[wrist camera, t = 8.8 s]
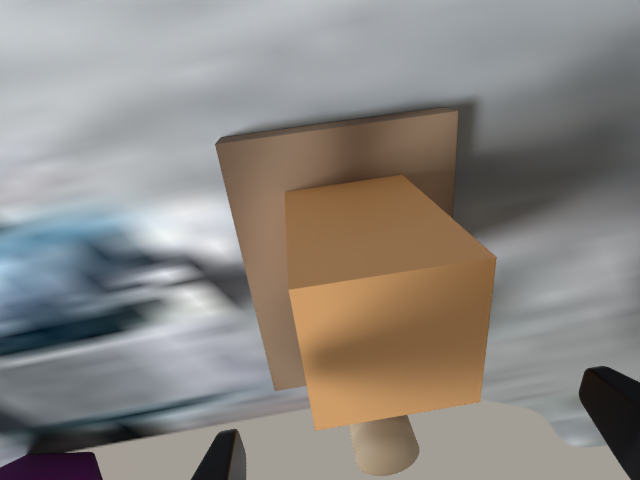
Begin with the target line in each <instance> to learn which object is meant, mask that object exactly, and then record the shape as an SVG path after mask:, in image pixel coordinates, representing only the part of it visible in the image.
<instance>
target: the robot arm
mask: <svg viewBox="0 0 640 480" xmlns="http://www.w3.org/2000/svg"><path fill="white" fill-rule="evenodd" d="M579 398H580V400H581V403H582V404H583V406H584V408H585V409H586V411H587V412H588V414H589V416H590V417H591V419H592V420H593V422H594V424H595V425H596V427H597V428H598V430H599V432H600V433H601V435H602V436H603V438H604V440H605V441H606V443H607V444H608V446H609V448H610V449H611V451H612V452H613V454H614V456H615V457H616V459H617V460H618V462H619V463H620V465H621V466H622V468H623V469H624V471H625V472H626V473H627V475H628V476H629V478H630V479H631V480H640V382H638V381H636V380H634V379H632V378H630V377H628V376H625V375H623V374H621V373H619V372H617V371H615V370H613V369H611V368H609V367H606V366H598V367H592V368H588V369H586V370H585V372H584V375H583V379H582V382H581V386H580V389H579ZM191 480H246V454H245V450H244V447H243V443H242V440H241V437H240V434H239V432H238V430H237V429H231V430H225V431H221V432H219V433H218V434H217V436H216V438H215V439H214V441H213V443H212V444H211V447H210V448H209V450H208V451H207V453H206V455H205V456H204V458H203V460H202V462H201V463H200V465H199V467H198V469H197V470H196V472H195V474H194V475H193V477H192V479H191Z"/></svg>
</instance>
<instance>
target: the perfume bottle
mask: <svg viewBox="0 0 640 480" xmlns="http://www.w3.org/2000/svg"><path fill="white" fill-rule="evenodd" d="M0 480H103V479H102V476H101V473H100V470H99V467H98V463H97V460H96V457H95V454H94V453H92V452H77V453H59V454H40V455H26V456H23V457H21V458H19V459H17V460H15V461H13V462H11V463H9V464H7V465H5V466H3V467H0Z"/></svg>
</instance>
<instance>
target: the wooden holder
mask: <svg viewBox="0 0 640 480" xmlns="http://www.w3.org/2000/svg"><path fill="white" fill-rule="evenodd" d="M457 128H458V111H456V110H452V109H448V108H444V107H442V108H435V109H427V110H420V111H413V112H405V113H398V114H391V115H383V116H376V117H369V118H361V119H354V120H347V121H339V122H332V123H325V124H317V125H310V126H303V127H295V128H288V129H281V130H273V131H266V132H259V133H251V134H244V135H237V136H229V137H222V138H220V139H219V140H218V141H217V143H216V144H215V146H216V150H217V154H218V158H219V163H220V167H221V171H222V175H223V179H224V183H225V187H226V191H227V196H228V200H229V204H230V208H231V212H232V216H233V220H234V225H235V229H236V233H237V237H238V241H239V245H240V249H241V253H242V258H243V262H244V266H245V270H246V274H247V278H248V282H249V287H250V291H251V295H252V299H253V303H254V307H255V311H256V315H257V320H258V324H259V328H260V332H261V336H262V340H263V344H264V348H265V353H266V357H267V361H268V365H269V369H270V373H271V377H272V382H273V386H274V390H275V391H278V390H284V389H290V388H296V387H302V386H307V384H306V379H305V374H304V369H303V363H302V358H301V353H300V348H299V342H298V337H297V332H296V326H295V321H294V316H293V311H292V305H291V300H290V295H289V288H288V263H287V239H286V214H285V192H288V191H295V190H302V189H309V188H316V187H322V186H329V185H336V184H343V183H350V182H357V181H363V180H370V179H377V178H384V177H391V176H397V175H403V176H405V177H406V178H407V179H408V180H409V181H410V182H411V183H412V184H414V185H415V186H416V187H417V188H418V189H419V190H420V191H422V192H423V193H424V194H425V195H426V196H427V197H428V198H430V199H431V200H432V201H433V202H434V203H435V204H436V205H438V206H439V207H440V208H441V209H442V210H443V211H444V212H446V213H447V214H448V215H449V216H450V217H451V218H452V219H453V204H454V185H455V166H456V147H457ZM349 428H350V433H351V438H352V443H353V448H354V454H355V459H356V463H357V466H358V467H359V469H360V470H362V471H363V472H365V473H367V474H369V475H375V476H386V475H392V474H396V473H398V472H401V471H403V470H405V469H406V468H408V467H409V466H411V465H412V464H413V463H414V461H415V460H416V459H417V457H418V455H419V446H418V443H417V440H416V438H415V435H414V433H413V430H412V427H411V424H410V422H409V419H408V416H407V415H403V416H397V417H391V418H385V419H379V420H374V421H368V422H362V423H356V424H351V425H349Z"/></svg>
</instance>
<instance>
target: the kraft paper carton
mask: <svg viewBox="0 0 640 480" xmlns="http://www.w3.org/2000/svg"><path fill="white" fill-rule="evenodd" d="M285 214H286V239H287V263H288V288H289V295H290V300H291V305H292V311H293V316H294V321H295V326H296V332H297V337H298V342H299V348H300V353H301V358H302V363H303V369H304V374H305V379H306V384H307V390H308V395H309V400H310V406H311V411H312V416H313V421H314V427H315V430H321V429H327V428H333V427H339V426H345V425H351V424H356V423H362V422H368V421H374V420H379V419H385V418H391V417H397V416H403V415H408V414H413V413H420V412H425V411H431V410H437V409H443V408H449V407H454V406H460V405H466V404H471V403H477V402H480V399H481V390H482V381H483V372H484V363H485V355H486V346H487V337H488V328H489V319H490V310H491V302H492V293H493V284H494V275H495V266H496V258H497V257H496V256H495V255H493V254H492V253H491V252H490V251H489V250H488V249H487V248H485V247H484V246H483V245H482V244H481V243H480V242H479V241H477V240H476V239H475V238H474V237H473V236H472V235H471V234H469V233H468V232H467V231H466V230H465V229H464V228H463V227H462V226H460V225H459V224H458V223H457V222H456V221H455V220H454V219H452V218H451V217H450V216H449V215H448V214H447V213H446V212H444V211H443V210H442V209H441V208H440V207H439V206H438V205H436V204H435V203H434V202H433V201H432V200H431V199H430V198H428V197H427V196H426V195H425V194H424V193H423V192H422V191H420V190H419V189H418V188H417V187H416V186H415V185H414V184H412V183H411V182H410V181H409V180H408V179H407V178H406V177H405V176H403V175H397V176H391V177H384V178H377V179H370V180H363V181H357V182H350V183H343V184H336V185H329V186H322V187H316V188H309V189H302V190H295V191H288V192H285Z"/></svg>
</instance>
